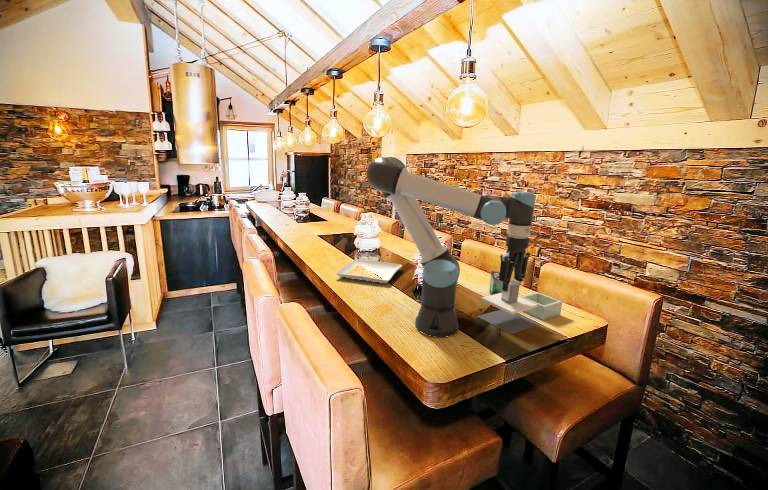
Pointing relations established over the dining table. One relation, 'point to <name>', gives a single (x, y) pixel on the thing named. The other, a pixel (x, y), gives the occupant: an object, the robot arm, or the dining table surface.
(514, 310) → the lid
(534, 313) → the open square box
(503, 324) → the mat
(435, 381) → the dining table surface
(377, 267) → the square plate
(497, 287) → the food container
